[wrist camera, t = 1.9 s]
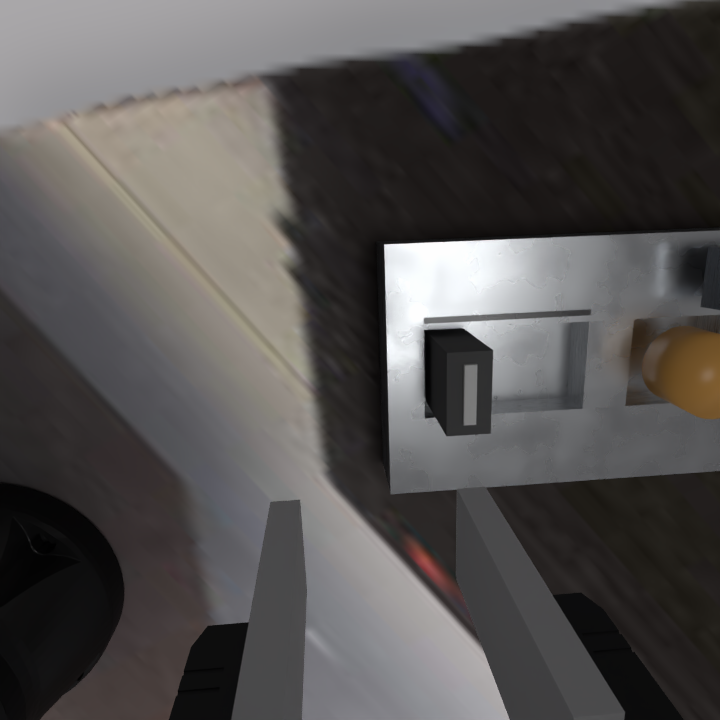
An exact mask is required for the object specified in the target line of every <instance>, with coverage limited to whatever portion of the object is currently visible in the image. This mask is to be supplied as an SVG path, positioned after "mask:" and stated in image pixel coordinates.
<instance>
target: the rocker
mask: <svg viewBox="0 0 720 720" xmlns="http://www.w3.org/2000/svg"><path fill="white" fill-rule="evenodd" d="M700 307H704V308H710V309H716V310H720V246H715V247H708V253H707V261H706V268H705V276H704V283H703V291H702V298H701V306H700Z"/></svg>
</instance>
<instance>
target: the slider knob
mask: <svg viewBox="0 0 720 720" xmlns="http://www.w3.org/2000/svg"><path fill="white" fill-rule="evenodd" d="M425 348H426V402H427V404H428V406H429V407H430V409H431V411H432V413H433V414H434V416H435V418H436V419H437V421H438V423H439V425H440V426H441V428H442V430H443V431H444V433H445V435H446V437H447V436H462V435H478V434H491V411H492V377H493V350H492V349H491V348H489V347H488V346H487V345H485V344H484V343H483V342H481V341H480V340H479V339H477V338H476V337H475V336H473V335H472V334H471V333H469V332H468V331H467V330H465V329H446V330H427V331H425Z"/></svg>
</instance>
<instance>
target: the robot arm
mask: <svg viewBox="0 0 720 720" xmlns="http://www.w3.org/2000/svg"><path fill="white" fill-rule="evenodd" d="M456 579H457V582H458V584H459V587H460V589H461V592H462V595H463V597H464V600H465V603H466V605H467V608H468V610H469V613H470V616H471V618H472V621H473V624H474V626H475V629H476V632H477V634H478V637H479V639H480V642H481V645H482V647H483V650H484V653H485V655H486V658H487V661H488V663H489V666H490V668H491V671H492V674H493V676H494V679H495V682H496V684H497V687H498V690H499V692H500V695H501V697H502V700H503V703H504V705H505V708H506V711H507V713H508V716H509V718H510V720H684V719H683V718H682V717H681V715H680V714H679V713H678V711H677V710H676V708H675V707H674V706H673V704H672V703H671V702H670V700H669V699H668V698H667V696H666V695H665V693H664V692H663V691H662V689H661V688H660V687H659V685H658V684H657V682H656V681H655V680H654V678H653V677H652V676H651V674H650V673H649V671H648V670H647V669H646V667H645V666H644V665H643V663H642V662H641V660H640V659H639V658H638V656H637V655H636V654H635V652H632V650H631V647H630V645H629V644H628V643H627V641H626V640H625V639H624V637H623V636H622V634H619V631H618V629H617V628H616V626H615V625H614V623H613V622H612V621H611V619H610V618H609V617H608V615H607V614H606V612H605V611H604V610H603V609H602V608H601V607H599V606H598V605H597V604H595V603H594V602H593V601H591V600H590V599H589V598H587V597H586V596H585V595H583V594H582V593H572V594H560V595H552V594H551V592H550V590H549V589H548V587H547V586H546V584H545V582H544V581H543V579H542V578H541V576H540V574H539V573H538V571H537V570H536V568H535V566H534V565H533V563H532V561H531V560H530V558H529V557H528V555H527V553H526V552H525V550H524V549H523V547H522V545H521V544H520V542H519V540H518V539H517V537H516V536H515V534H514V532H513V531H512V529H511V528H510V526H509V524H508V523H507V521H506V520H505V518H504V516H503V515H502V513H501V511H500V510H499V508H498V507H497V505H496V503H495V502H494V500H493V499H492V497H491V495H490V494H489V492H488V491H487V489H486V487H475V488H461V489H457V528H456ZM306 597H307V585H306V572H305V559H304V546H303V532H302V519H301V506H300V500H291V501H277V502H271V503H270V508H269V514H268V519H267V525H266V530H265V536H264V541H263V547H262V552H261V558H260V563H259V569H258V574H257V580H256V585H255V591H254V597H253V602H252V608H251V613H250V619H249V622H248V623H236V624H224V625H212V626H207V628H206V629H205V630H204V631H203V633H202V634H201V635H200V636H199V638H198V639H197V640H196V642H195V643H194V644H193V645H192V647H191V649H190V653H189V656H188V659H187V663H186V666H185V669H184V676H182V679H181V682H180V685H179V689H178V695H177V696H176V698H175V702H174V705H173V708H172V712H171V715H170V718H169V720H302V700H303V674H304V649H305V623H306ZM123 601H124V586H123V579H122V574H121V571H120V567H119V564H118V562H117V560H116V557H115V555H114V553H113V551H112V549H111V548H110V546H109V545H108V543H107V542H106V540H105V539H104V538H103V536H102V535H101V534H100V533H99V531H98V530H97V529H96V528H95V527H94V526H93V525H92V524H91V523H90V522H89V521H88V520H86V519H85V518H84V517H83V516H82V515H80V514H79V513H78V512H76V511H75V510H73V509H72V508H70V507H69V506H67V505H66V504H64V503H62V502H60V501H58V500H56V499H54V498H52V497H50V496H48V495H45V494H43V493H40V492H37V491H34V490H31V489H27V488H23V487H18V486H13V485H7V484H0V720H40V719H41V717H42V716H43V715H44V714H45V713H46V712H47V711H48V710H49V709H50V708H51V707H52V706H53V705H54V704H55V703H56V702H57V701H58V700H59V699H60V698H61V696H62V695H64V694H65V693H66V692H68V691H69V690H71V689H72V688H73V687H75V686H76V685H77V684H78V683H79V682H80V681H81V680H82V679H83V678H84V677H85V676H86V675H87V674H88V673H89V672H90V671H91V670H92V668H93V667H94V666H95V664H96V663H97V662H98V660H99V659H100V657H101V656H102V654H103V652H104V650H105V649H106V647H107V645H108V643H109V641H110V639H111V637H112V635H113V633H114V631H115V629H116V627H117V625H118V622H119V619H120V616H121V613H122V608H123Z"/></svg>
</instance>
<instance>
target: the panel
mask: <svg viewBox="0 0 720 720" xmlns="http://www.w3.org/2000/svg"><path fill="white" fill-rule="evenodd" d="M715 246H720V227H717V228H693V229H669V230H645V231H621V232H597V233H573V234H549V235H525V236H501V237H477V238H453V239H429V240H405V241H381V242H376V251H377V286H378V320H379V355H380V389H381V424H382V458H383V466H384V470H385V474H386V478H387V482H388V486H389V490H390V494H399V493H413V492H427V491H442V490H456V489H461V488H475V487H498V486H512V485H526V484H540V483H554V482H568V481H583V480H597V479H611V478H625V477H639V476H653V475H667V474H681V473H695V472H709V471H720V418H719V419H703V418H699V417H697V416H695V415H693V414H691V413H689V412H687V411H685V410H683V409H681V408H679V407H677V406H675V405H673V404H671V403H669V402H667V401H666V400H664V399H662V398H660V397H658V396H656V395H655V394H653V393H652V392H651V391H650V390H649V389H648V388H647V386H646V385H645V383H644V380H643V376H642V362H643V358H644V355H645V353H646V351H647V349H648V347H649V346H650V344H651V343H652V342H653V341H654V340H655V339H656V338H657V337H658V336H659V335H660V334H662V333H663V332H665V331H667V330H669V329H671V328H674V327H678V326H693V327H697V328H700V329H704V330H707V331H711V332H714V333H718V334H720V310H716V309H710V308H704V307H700V306H701V298H702V291H703V283H704V276H705V268H706V261H707V253H708V247H715ZM446 329H465V330H467V331H468V332H469V333H471V334H472V335H473V336H475V337H476V338H477V339H479V340H480V341H481V342H483V343H484V344H485V345H487V346H488V347H489V348H491V349H492V350H493V377H492V411H491V434H478V435H462V436H447V437H446V435H445V433H444V431H443V430H442V428H441V426H440V425H439V423H438V421H437V419H436V418H435V416H434V414H433V413H432V411H431V409H430V407H429V406H428V404H427V402H426V348H425V331H427V330H446Z"/></svg>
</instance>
